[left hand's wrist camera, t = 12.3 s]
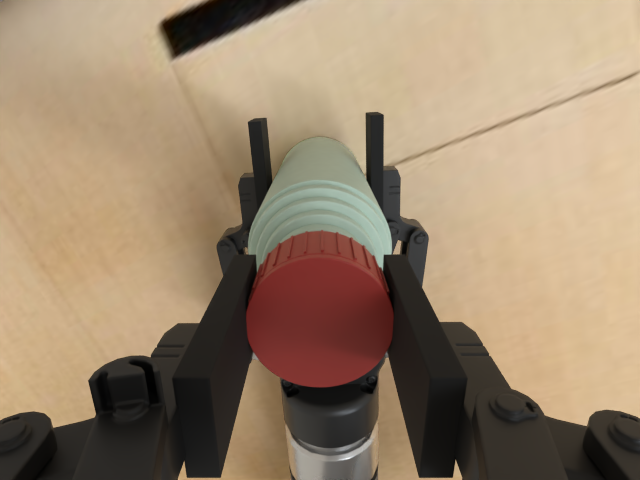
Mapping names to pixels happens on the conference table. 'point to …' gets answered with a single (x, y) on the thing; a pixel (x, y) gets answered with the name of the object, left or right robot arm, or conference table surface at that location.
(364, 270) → the cap
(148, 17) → the conference table surface
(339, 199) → the bottle
